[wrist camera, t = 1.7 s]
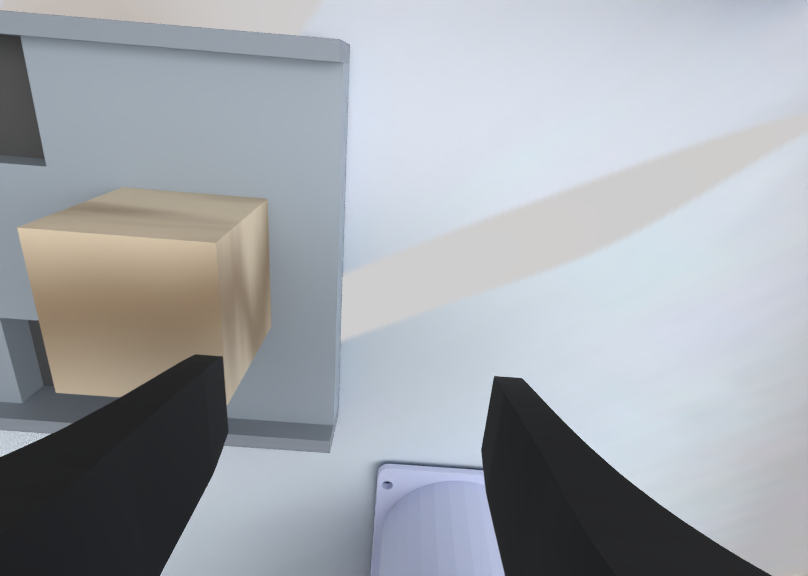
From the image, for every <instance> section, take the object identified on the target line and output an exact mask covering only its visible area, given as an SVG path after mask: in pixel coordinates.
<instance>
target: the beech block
mask: <svg viewBox="0 0 808 576" xmlns="http://www.w3.org/2000/svg"><path fill="white" fill-rule="evenodd" d="M17 230H18V234H19V238H20V243H21V247H22V251H23V255H24V260H25V264H26V268H27V272H28V277H29V281H30V285H31V289H32V294H33V298H34V302H35V306H36V311H37V315H38V319H39V324H40V328H41V332H42V336H43V341H44V345H45V349H46V353H47V358H48V362H49V366H50V370H51V375H52V379H53V383H54V387H55V392H56V393H66V394H80V395H94V396H108V397H122V396H123V395H125V394H127V393H129V392H130V391H132V390H134V389H135V388H137V387H139V386H140V385H142V384H144V383H146V382H147V381H149V380H151V379H152V378H154V377H156V376H157V375H159V374H161V373H162V372H164V371H166V370H167V369H169V368H171V367H173V366H174V365H176V364H178V363H179V362H181V361H183V360H185V359H187V358H189V357H191V356H193V355H195V354H198V355H212V356H223V364H224V378H225V391H226V404H227V405H228V403H229V402H230V400H231V398H232V396H233V395H234V393H235V391H236V389H237V387H238V386H239V384H240V382H241V380H242V378H243V377H244V375H245V373H246V371H247V369H248V368H249V366H250V364H251V362H252V361H253V359H254V357H255V355H256V353H257V352H258V350H259V348H260V346H261V344H262V343H263V341H264V339H265V337H266V335H267V334H268V332H269V330H270V328H271V327H272V326H271V293H270V260H269V226H268V199H265V198H252V197H240V196H227V195H215V194H202V193H189V192H177V191H164V190H152V189H139V188H126V187H122V188H119V189H117V190H114V191H111V192H109V193H106V194H103V195H101V196H98V197H96V198H93V199H90V200H88V201H85V202H83V203H80V204H77V205H75V206H72V207H69V208H67V209H64V210H62V211H59V212H56V213H54V214H51V215H49V216H46V217H43V218H41V219H38V220H35V221H33V222H30V223H28V224H25V225H22V226H20V227H17Z"/></svg>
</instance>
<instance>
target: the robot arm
mask: <svg viewBox="0 0 808 576" xmlns="http://www.w3.org/2000/svg"><path fill="white" fill-rule="evenodd" d="M228 432H229V431H228V418H227V404H226V391H225V378H224V364H223V356H212V355H198V354H195V355H193V356H191V357H189V358H187V359H185V360H183V361H181V362H179V363H178V364H176V365H174V366H173V367H171V368H169V369H167V370H166V371H164V372H162V373H161V374H159V375H157V376H156V377H154V378H152V379H151V380H149V381H147V382H146V383H144V384H142V385H140V386H139V387H137V388H135V389H134V390H132V391H130V392H129V393H127V394H125V395H123V396H122V397H120V398H118V399H117V400H115V401H113V402H111V403H109V404H107V405H106V406H104V407H102V408H100V409H98V410H96V411H94V412H93V413H91V414H89V415H87V416H85V417H83V418H81V419H80V420H78V421H76V422H74V423H72V424H70V425H68V426H67V427H65V428H63V429H61V430H59V431H57V432H55V433H53V434H50V435H48V436H46V437H44V438H42V439H40V440H38V441H36V442H34V443H31V444H29V445H27V446H25V447H22V448H20V449H18V450H16V451H13V452H11V453H9V454H7V455H4V456H2V457H0V576H160V574H161V572H162V570H163V568H164V567H165V565H166V563H167V561H168V559H169V557H170V555H171V553H172V551H173V550H174V548H175V546H176V544H177V542H178V540H179V538H180V536H181V534H182V533H183V531H184V529H185V527H186V525H187V523H188V521H189V519H190V517H191V516H192V514H193V512H194V510H195V508H196V506H197V504H198V502H199V500H200V498H201V496H202V495H203V493H204V491H205V489H206V487H207V485H208V483H209V481H210V479H211V477H212V475H213V473H214V470H215V468H216V465H217V463H218V460H219V457H220V455H221V452H222V449H223V446H224V443H225V441H226V438H227V435H228ZM481 451H482V461H483V470H472V469H458V468H444V467H429V466H415V465H401V464H384V465H382V466H381V467H380V468H379V469H378V476H377V490H376V504H375V517H374V531H373V544H372V558H371V572H370V576H771V575H770V574H768V573H766V572H764V571H763V570H761V569H759V568H757V567H756V566H754V565H752V564H750V563H749V562H747V561H745V560H743V559H742V558H740V557H739V556H737V555H735V554H734V553H732V552H730V551H729V550H727V549H725V548H724V547H722V546H720V545H719V544H717V543H716V542H714V541H713V540H711V539H710V538H708V537H707V536H705V535H704V534H702V533H701V532H699V531H697V530H696V529H694V528H693V527H691V526H690V525H688V524H687V523H685V522H684V521H682V520H681V519H679V518H678V517H677V516H675V515H674V514H672V513H671V512H669V511H668V510H667V509H665V508H664V507H662V506H661V505H660V504H658V503H657V502H656V501H654V500H653V499H652V498H650V497H649V496H648V495H647V494H645V493H644V492H643V491H641V490H640V489H639V488H637V487H636V486H635V485H633V484H632V483H631V482H630V481H628V480H627V479H626V478H625V477H624V476H622V475H621V474H620V473H619V472H617V471H616V470H615V469H614V468H613V467H612V466H611V465H609V464H608V463H607V462H606V461H605V460H604V459H603V458H602V457H600V456H599V455H598V454H597V453H596V452H595V451H594V450H592V449H591V448H590V447H589V446H588V445H587V444H586V443H585V442H584V441H583V440H582V439H581V438H580V437H579V436H578V435H577V434H576V433H575V432H574V431H573V430H572V429H571V428H570V427H569V426H568V425H567V424H566V423H565V422H564V421H563V420H562V419H561V418H560V417H559V416H558V415H557V414H556V413H555V412H554V411H553V410H552V409H551V408H550V407H549V406H548V405H547V404H546V403H545V402H544V401H543V400H542V399H541V398H540V396H539V395H538V394H537V393H536V392H535V391H534V390H533V389H532V388H531V387H530V386H529V385H528V384H527V383H526V382H525V381H524V380H523V379H522V378H512V377H498V376H494V381H493V386H492V392H491V398H490V403H489V409H488V415H487V421H486V426H485V432H484V438H483V443H482V449H481ZM385 481H389V482H391V483H388V484H387V483H384V482H385Z"/></svg>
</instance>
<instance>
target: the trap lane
mask: <svg viewBox="0 0 808 576" xmlns="http://www.w3.org/2000/svg"><path fill="white" fill-rule="evenodd" d="M349 48H350V45H349V44H348V43H346V42H344V41H342V40H340V39H329V38H317V37H306V36H294V35H282V34H271V33H259V32H246V31H235V30H224V29H212V28H201V27H188V26H177V25H165V24H154V23H142V22H129V21H118V20H106V19H94V18H83V17H72V16H71V17H70V16H60V15H48V14H37V13H25V12H13V11H2V10H0V430H8V431H22V432H37V433H51V434H53V433H55V432H57V431H59V430H61V429H63V428H65V427H67V426H68V425H70V424H72V423H74V422H76V421H78V420H80V419H81V418H83V417H85V416H87V415H89V414H91V413H93V412H94V411H96V410H98V409H100V408H102V407H104V406H106V405H107V404H109V403H111V402H113V401H115V400H117V399H118V398H120V397H108V396H94V395H80V394H66V393H56V392H55V387H54V383H53V379H52V375H51V370H50V366H49V362H48V358H47V353H46V349H45V345H44V341H43V336H42V332H41V328H40V324H39V319H38V315H37V311H36V306H35V302H34V298H33V294H32V289H31V285H30V281H29V277H28V272H27V268H26V264H25V260H24V255H23V251H22V247H21V243H20V238H19V234H18V230H17V227H20V226H22V225H25V224H28V223H30V222H33V221H35V220H38V219H41V218H43V217H46V216H49V215H51V214H54V213H56V212H59V211H62V210H64V209H67V208H69V207H72V206H75V205H77V204H80V203H83V202H85V201H88V200H90V199H93V198H96V197H98V196H101V195H103V194H106V193H109V192H111V191H114V190H117V189H119V188H122V187H126V188H139V189H152V190H164V191H177V192H189V193H202V194H215V195H227V196H240V197H252V198H265V199H268V226H269V260H270V293H271V326H272V327H271V328H270V330H269V332H268V334H267V335H266V337H265V339H264V341H263V343H262V344H261V346H260V348H259V350H258V352H257V353H256V355H255V357H254V359H253V361H252V362H251V364H250V366H249V368H248V369H247V371H246V373H245V375H244V377H243V378H242V380H241V382H240V384H239V386H238V387H237V389H236V391H235V393H234V395H233V396H232V398H231V400H230V402H229V403H228V405H227V418H228V431H229V432H228V435H227V438H226V441H225V443H224V446H236V447H251V448H265V449H279V450H293V451H308V452H322V453H330V450H331V445H332V440H333V436H334V431H335V427H336V422H337V417H338V400H339V368H340V336H341V335H340V333H341V302H342V272H343V240H344V208H345V176H346V144H347V112H348V80H349Z"/></svg>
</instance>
